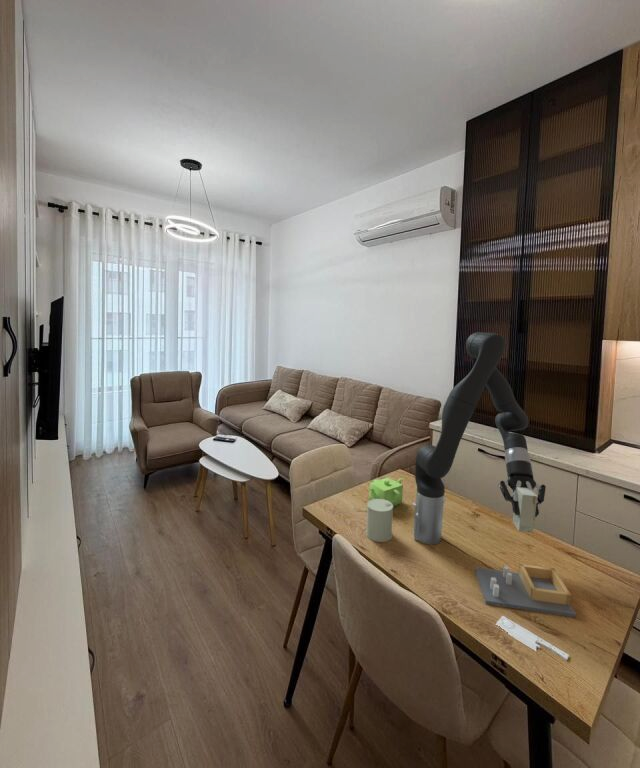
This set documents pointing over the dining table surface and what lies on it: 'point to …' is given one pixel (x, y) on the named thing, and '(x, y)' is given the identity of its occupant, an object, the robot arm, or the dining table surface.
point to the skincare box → (525, 510)
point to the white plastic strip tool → (527, 636)
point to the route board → (526, 589)
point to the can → (379, 520)
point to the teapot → (387, 490)
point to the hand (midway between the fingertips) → (526, 515)
